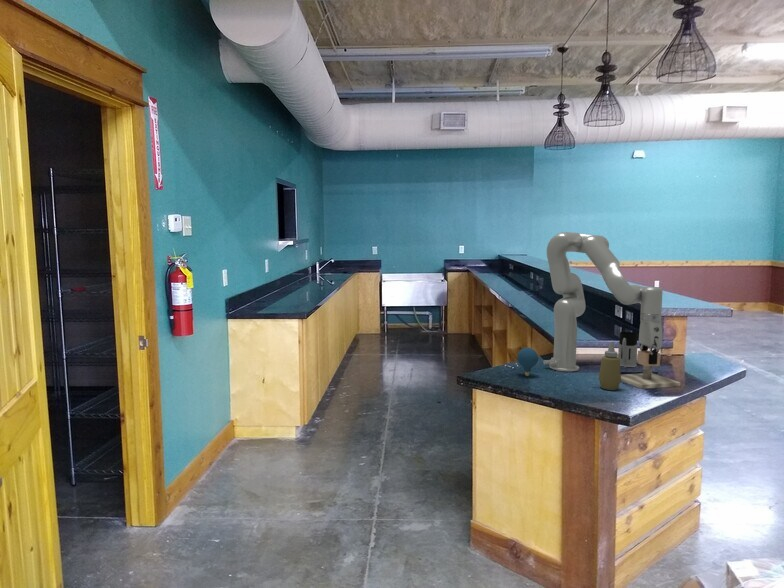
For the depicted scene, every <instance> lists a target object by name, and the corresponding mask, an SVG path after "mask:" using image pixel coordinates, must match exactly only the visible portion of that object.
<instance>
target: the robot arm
mask: <svg viewBox="0 0 784 588" xmlns="http://www.w3.org/2000/svg"><path fill="white" fill-rule="evenodd" d="M567 252H568V253H569V252H570V253H581V254H585V255H586V256H587V257H588V259H589V260H590V262H591V263H592V264H593V265H594V266H595V267H596V269H597V270H598V271H599V273H600V274H601V277H602V279H603V281H604V283H605V285H606V287H607V289H608V290H609V292H611V294H612V295H613V296H614V297H615V299H616V300H617V301H618V302H620V304H623V305H626V306H629V305H633V304H640V316H639V317H640V319H639V321H640V324H639V330H638V332H639V333H638V339H637V342H638V343H639V351H650V354H649V364H657V356H658V353H659V352H660V350H661V349H662V346H663V326H662V309H663V294H664V293H663V289H662V288H661V287H660V286H659V287H658V286H641V285H638V284H637V285H636V284H630V283H629V282H628V281H627V280H626V278H625V277H624V276H623V274H622V272H621V268H620V265H621V264H620V260H619V259H618V258H617V257H616V256H615V254H614V253H613V252H612V251H611V249H610V242H609V240H608V239H607V238H606V237H605V236H603V235H600V234H599V235H595V234H589V233H588V234H587V233H582V232H581V233H579V232H571V231H570V232H569V231H563V232H562V231H561V232H560V233H557V234H556V235H554V236H553V237H552V238H550V239H549V241H548V243H547V246H546V258H547V262H548V268H549V274H550V279H551V286H552V289H553V291H554V293H555V294H557V295H562V298H560V299H558V300H557V301H556V302H555V304H554V306H553V317H554V318H553V320H554V330H553V331H554V337H553V339H554V341H553V357H551V359H544V360H542V363H543V365H549V369H551V370H553V371H559V372H570V373H571V372H577V371H580V366H579V365H577V344H578V343H577V342H578V341H577V340H578V322H577V318H578V317H580V316H582V315H583V314H584V313H585V311H586V299H585V294H584V287H583V284H582V281H581V279H580V277H579V276H578V275H577V274H576V273H574V272H571V268H570V267H571V266H570V262H569V258H568V257H567Z"/></svg>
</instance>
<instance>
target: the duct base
mask: <svg viewBox="0 0 784 588" xmlns="http://www.w3.org/2000/svg"><path fill="white" fill-rule="evenodd" d="M621 382H622V383H625V384H628V385H630V386H632V387H636V388H638V389H641V390H642V389H644V390H645V389H658V388H660V389H661V388H676V387H677V388H678V387H681V385H682V384H681V382H680V381H677V380H674V379H671V378H668V377H665V376H662V375H660V374H656V373H653V366H643V365H642V373H630V374H629V373H627V374H621Z"/></svg>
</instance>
